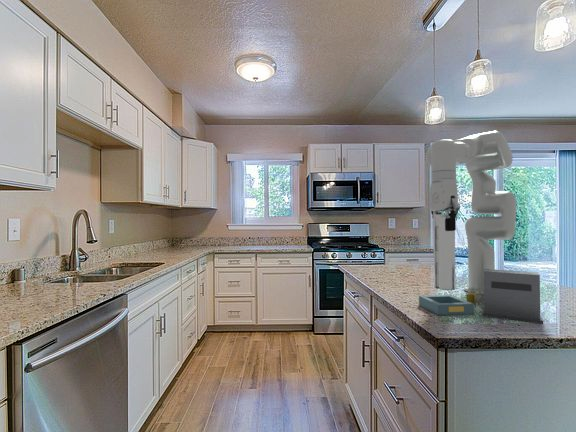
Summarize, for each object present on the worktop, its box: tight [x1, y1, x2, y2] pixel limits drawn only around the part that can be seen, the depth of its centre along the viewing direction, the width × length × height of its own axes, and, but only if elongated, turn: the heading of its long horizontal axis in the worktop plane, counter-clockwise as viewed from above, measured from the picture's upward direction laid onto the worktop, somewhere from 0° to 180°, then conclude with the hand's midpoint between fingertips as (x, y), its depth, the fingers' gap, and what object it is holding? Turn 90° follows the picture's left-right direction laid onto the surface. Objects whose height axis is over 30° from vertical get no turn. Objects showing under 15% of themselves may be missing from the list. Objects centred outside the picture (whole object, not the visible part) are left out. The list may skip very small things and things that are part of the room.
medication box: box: [466, 288, 481, 306], centre depth 118 cm, size 12×3×4 cm, turn 141°
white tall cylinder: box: [432, 213, 457, 291], centre depth 107 cm, size 6×6×25 cm
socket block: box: [418, 294, 475, 317], centre depth 106 cm, size 12×12×4 cm
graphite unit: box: [481, 269, 544, 325], centre depth 99 cm, size 8×15×14 cm, turn 58°
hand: (444, 229), depth 107 cm, fingers closed on white tall cylinder, 6 cm apart
